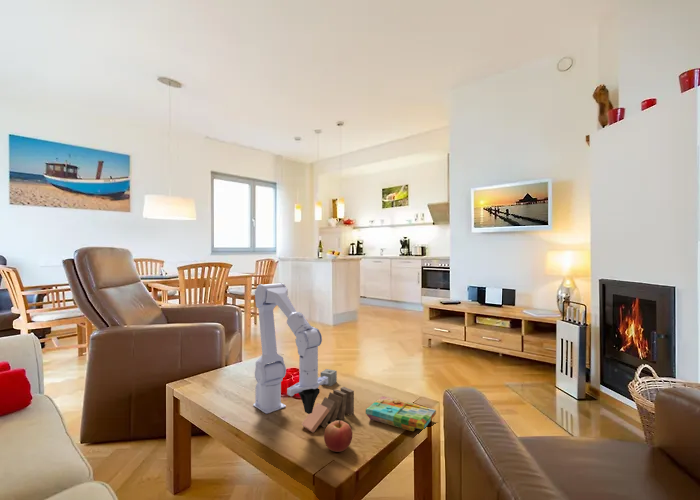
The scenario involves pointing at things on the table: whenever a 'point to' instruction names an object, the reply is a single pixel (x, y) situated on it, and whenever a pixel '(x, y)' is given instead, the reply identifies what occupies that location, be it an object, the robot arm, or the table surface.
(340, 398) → the domino
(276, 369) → the robot arm
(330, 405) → the domino
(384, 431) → the table surface
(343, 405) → the domino
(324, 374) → the dice cube
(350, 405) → the domino
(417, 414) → the puzzle game
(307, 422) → the domino
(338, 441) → the apple
